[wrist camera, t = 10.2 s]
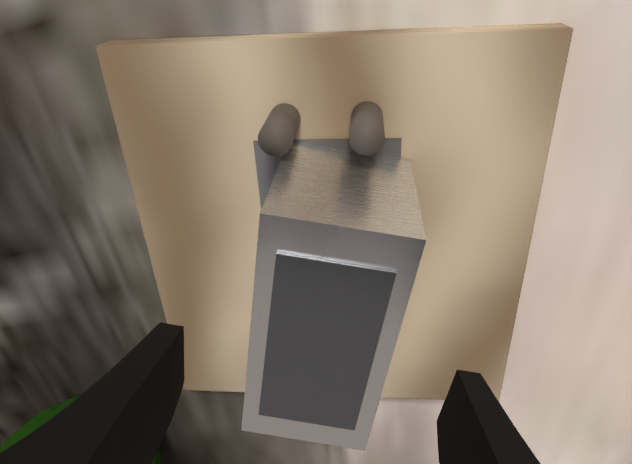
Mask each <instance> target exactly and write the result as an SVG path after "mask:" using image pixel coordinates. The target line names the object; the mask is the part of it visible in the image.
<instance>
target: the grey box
mask: <svg viewBox="0 0 632 464" xmlns="http://www.w3.org/2000/svg"><path fill="white" fill-rule="evenodd" d="M425 243H426V236H425V231H424V226H423V221H422V216H421V211H420V206H419V201H418V196H417V191H416V186H415V181H414V176H413V171H412V166H411V161H410V160H405V159H398V158H392V157H386V156H379V155H368V156H366V155H360V154H358V153H356V152H354V151H348V150H342V149H335V148H329V147H323V146H317V145H310V144H304V143H298V142H293V144H292V147H291V149H290V150H289V152H287V153H286V154H285V155H283V156H282V159H281V161H280V164H279V166H278V169H277V171H276V174H275V176H274V179H273V181H272V184H271V187H270V189H269V192H268V194H267V197H266V199H265V202H264V204H263V207H262V209H261V212H260V217H259V229H258V241H257V253H256V264H255V276H254V288H253V300H252V312H251V323H250V335H249V347H248V359H247V371H246V382H245V394H244V406H243V418H242V430H243V431H249V432H255V433H261V434H267V435H273V436H279V437H285V438H291V439H297V440H303V441H309V442H315V443H322V444H328V445H334V446H340V447H346V448H352V449H358V450H364V451H365V448H366V445H367V441H368V438H369V435H370V431H371V428H372V424H373V421H374V417H375V414H376V411H377V407H378V404H379V400H380V397H381V393H382V390H383V387H384V383H385V380H386V376H387V373H388V370H389V366H390V363H391V359H392V356H393V352H394V349H395V346H396V342H397V339H398V335H399V332H400V329H401V325H402V322H403V318H404V315H405V311H406V308H407V305H408V301H409V298H410V294H411V291H412V288H413V284H414V281H415V277H416V274H417V270H418V267H419V264H420V260H421V257H422V253H423V250H424V247H425Z"/></svg>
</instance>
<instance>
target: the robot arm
mask: <svg viewBox="0 0 632 464" xmlns="http://www.w3.org/2000/svg"><path fill="white" fill-rule="evenodd" d="M183 384H184V326H179V325H172V324H166V323H160V324H158V325H157V326H156V327H155V328H154V329H153V330H152V331H151V332H150V333H149V334H148V335H147V336H146V337H145V338H144V339H143V340H142V341H141V342H140V343H139V344H138V345H137V346H136V347H134V348H133V349H132V350H131V351H130V352H129V353H128V354H127V355H126V356H125V357H124V358H123V359H122V360H121V361H120V362H119V363H117V364H116V365H115V366H114V367H113V368H112V369H111V370H110V371H109V372H107V373H106V374H105V375H104V376H103V377H102V378H101V379H100V380H98V381H97V382H96V383H95V384H94V385H93V386H91V387H90V388H89V389H88V390H86V391H85V392H84V393H83V394H82V395H80V396H79V397H78V398H77V399H75V400H74V401H73V402H72V403H71V404H69V405H68V406H67V407H65V408H64V409H63V410H62V411H60V412H59V413H58V414H56V415H55V416H54V417H52V418H51V419H50V420H48V421H47V422H45V423H44V424H43V425H41V426H40V427H38V428H37V429H36V430H34V431H33V432H31V433H30V434H28V435H27V436H25V437H24V438H22V439H21V440H19V441H18V442H16V443H15V444H13V445H12V446H10V447H9V448H7V449H5V450H4V451H2V452H1V453H0V464H151V463H152V461H153V459H154V457H155V455H156V453H157V450H158V448H159V446H160V444H161V442H162V440H163V437H164V435H165V433H166V431H167V429H168V426H169V424H170V422H171V420H172V417H173V414H174V412H175V409H176V406H177V403H178V400H179V397H180V393H181V390H182V387H183ZM437 435H438V452H439V463H440V464H540V462H539V461H538V460H537V458H536V457H535V456H534V454H533V453H532V451H531V450H530V448H529V447H528V445H527V444H526V443H525V441H524V440H523V438H522V437H521V435H520V434H519V432H518V431H517V429H516V428H515V426H514V425H513V423H512V422H511V420H510V419H509V417H508V416H507V414H506V413H505V411H504V409H503V408H502V406H501V405H500V403H499V402H498V400H497V398H496V397H495V395H494V394H493V392H492V390H491V389H490V387H489V386H488V384H487V382H486V381H485V379H484V378H483V376H482V375H481V373H476V372H470V371H464V370H457V371H456V373H455V376H454V378H453V381H452V384H451V386H450V389H449V391H448V394H447V396H446V399H445V402H444V404H443V407H442V409H441V412H440V414H439V417H438V420H437Z"/></svg>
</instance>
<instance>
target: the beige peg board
mask: <svg viewBox="0 0 632 464" xmlns="http://www.w3.org/2000/svg"><path fill="white" fill-rule="evenodd" d="M572 32H573V28H571V27H569V26H566V25H564V24H561V23H558V24H531V25H505V26H478V27H452V28H425V29H399V30H372V31H346V32H319V33H293V34H266V35H240V36H213V37H187V38H160V39H134V40H110V41H107V42H104V43H102V44H99V45H96V50H97V54H98V58H99V62H100V66H101V69H102V73H103V77H104V81H105V85H106V89H107V93H108V97H109V100H110V104H111V108H112V112H113V116H114V120H115V124H116V128H117V131H118V135H119V139H120V143H121V147H122V151H123V155H124V159H125V162H126V166H127V170H128V174H129V178H130V182H131V186H132V190H133V193H134V197H135V201H136V205H137V209H138V213H139V217H140V221H141V224H142V228H143V232H144V236H145V240H146V244H147V248H148V252H149V255H150V259H151V263H152V267H153V271H154V275H155V279H156V283H157V286H158V290H159V294H160V298H161V302H162V306H163V310H164V314H165V317H166V321H167V324H172V325H179V326H184V384H183V387H184V390H200V391H227V392H245V382H246V371H247V359H248V347H249V335H250V323H251V312H252V300H253V288H254V276H255V264H256V253H257V241H258V229H259V217H260V212H261V209H262V207H263V204H264V202H265V199H266V197H267V194H268V192H269V189H270V187H271V184H272V181H273V179H274V176H275V174H276V171H277V169H278V166H279V164H280V161H281V159H282V156H283V155H285V154H286V153H287V152H289V150H290V149H291V147H292V144H293V142H298V143H304V144H310V145H317V146H323V147H329V148H335V149H342V150H348V151H354V152H356V153H358V154H360V155H366V156H368V155H379V156H386V157H392V158H398V159H405V160H410V161H411V166H412V171H413V176H414V181H415V186H416V191H417V196H418V201H419V206H420V211H421V216H422V221H423V226H424V231H425V236H426V243H425V247H424V250H423V253H422V257H421V260H420V264H419V267H418V270H417V274H416V277H415V281H414V284H413V288H412V291H411V294H410V298H409V301H408V305H407V308H406V311H405V315H404V318H403V322H402V325H401V329H400V332H399V335H398V339H397V342H396V346H395V349H394V352H393V356H392V359H391V363H390V366H389V370H388V373H387V376H386V380H385V383H384V387H383V390H382V393H381V397H389V398H416V399H443V400H445V399H446V396H447V394H448V391H449V389H450V386H451V384H452V381H453V378H454V376H455V373H456V371H457V370H464V371H470V372H476V373H481V375H482V376H483V378H484V379H485V381H486V382H487V384H488V386H489V387H490V389H491V390H492V392H493V394H494V395H495V397H496V398H497V400H498V402H499V398H500V393H501V388H502V383H503V378H504V373H505V368H506V363H507V358H508V353H509V348H510V343H511V338H512V333H513V328H514V323H515V318H516V313H517V308H518V303H519V298H520V293H521V288H522V283H523V278H524V273H525V268H526V263H527V258H528V253H529V248H530V243H531V238H532V233H533V228H534V222H535V217H536V212H537V207H538V202H539V197H540V192H541V187H542V182H543V177H544V172H545V167H546V162H547V157H548V152H549V147H550V142H551V137H552V132H553V127H554V122H555V117H556V112H557V107H558V102H559V97H560V92H561V87H562V82H563V77H564V72H565V67H566V62H567V57H568V52H569V47H570V42H571V37H572Z"/></svg>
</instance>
